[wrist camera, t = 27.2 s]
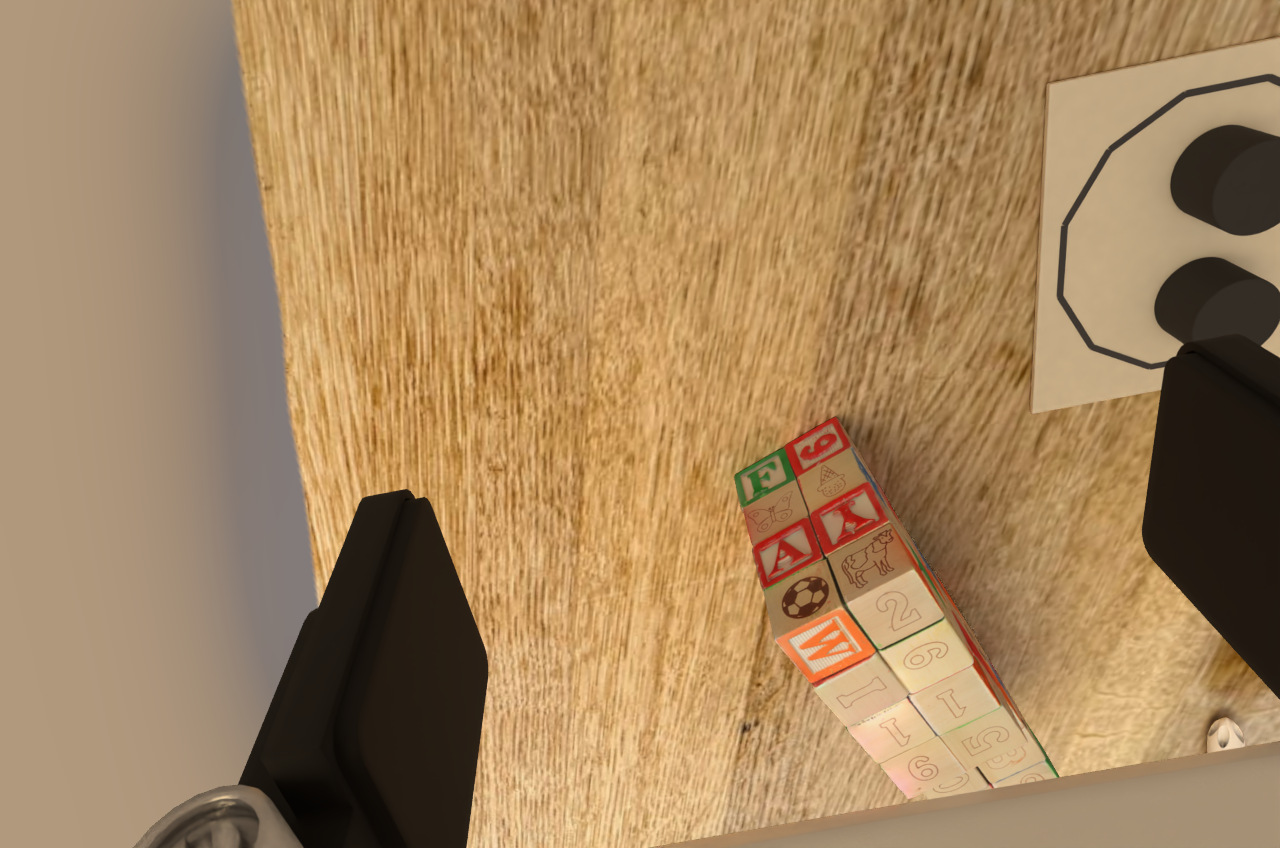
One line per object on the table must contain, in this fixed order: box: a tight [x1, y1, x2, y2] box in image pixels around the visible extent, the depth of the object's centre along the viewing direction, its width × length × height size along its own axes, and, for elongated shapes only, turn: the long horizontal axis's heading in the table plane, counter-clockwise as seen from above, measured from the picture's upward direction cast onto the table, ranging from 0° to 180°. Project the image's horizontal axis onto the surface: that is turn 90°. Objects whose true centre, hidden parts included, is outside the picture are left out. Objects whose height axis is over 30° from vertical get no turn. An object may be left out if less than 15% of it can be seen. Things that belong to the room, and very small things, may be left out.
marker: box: [1207, 717, 1246, 753], centre depth 59 cm, size 18×2×2 cm, turn 19°
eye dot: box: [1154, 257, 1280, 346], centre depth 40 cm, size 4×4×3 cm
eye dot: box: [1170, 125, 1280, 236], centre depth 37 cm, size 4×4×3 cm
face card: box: [1030, 36, 1280, 414], centre depth 39 cm, size 16×15×1 cm
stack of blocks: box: [734, 417, 1059, 799], centre depth 43 cm, size 21×6×12 cm, turn 34°
